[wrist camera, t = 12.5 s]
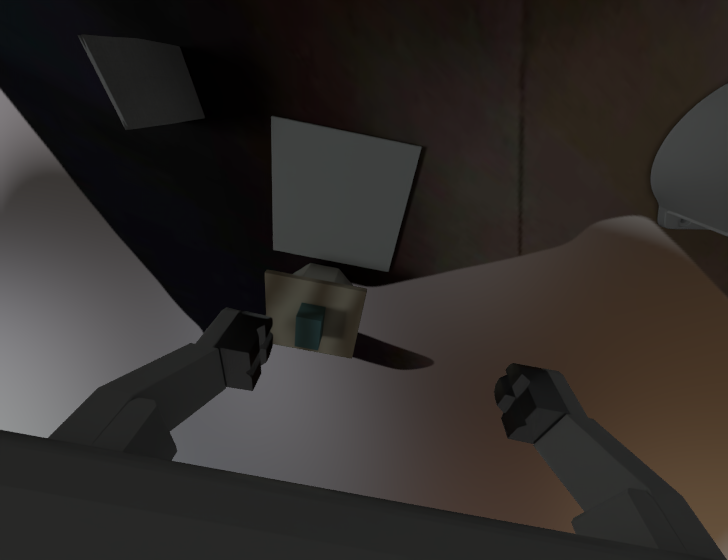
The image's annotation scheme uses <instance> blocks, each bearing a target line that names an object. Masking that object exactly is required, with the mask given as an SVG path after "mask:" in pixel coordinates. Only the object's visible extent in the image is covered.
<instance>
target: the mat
mask: <svg viewBox="0 0 728 560" xmlns="http://www.w3.org/2000/svg"><path fill="white" fill-rule="evenodd" d="M271 138H272V202H273V250H277V251H283V252H288V253H293V254H298V255H303V256H308V257H314V258H319V259H324V260H329V261H334V262H339V263H344V264H350V265H355V266H360V267H365V268H370V269H375V270H380V271H386V272H388V271H389V268H390V264H391V260H392V256H393V253H394V249H395V245H396V241H397V238H398V234H399V230H400V226H401V223H402V219H403V215H404V211H405V208H406V204H407V200H408V196H409V193H410V189H411V185H412V181H413V178H414V174H415V170H416V166H417V163H418V159H419V155H420V151H421V148H422V147H421V146H417V145H412V144H408V143H403V142H398V141H393V140H388V139H383V138H379V137H374V136H369V135H364V134H359V133H354V132H349V131H345V130H340V129H335V128H330V127H325V126H320V125H315V124H311V123H306V122H301V121H296V120H291V119H286V118H282V117H277V116H271Z"/></svg>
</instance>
